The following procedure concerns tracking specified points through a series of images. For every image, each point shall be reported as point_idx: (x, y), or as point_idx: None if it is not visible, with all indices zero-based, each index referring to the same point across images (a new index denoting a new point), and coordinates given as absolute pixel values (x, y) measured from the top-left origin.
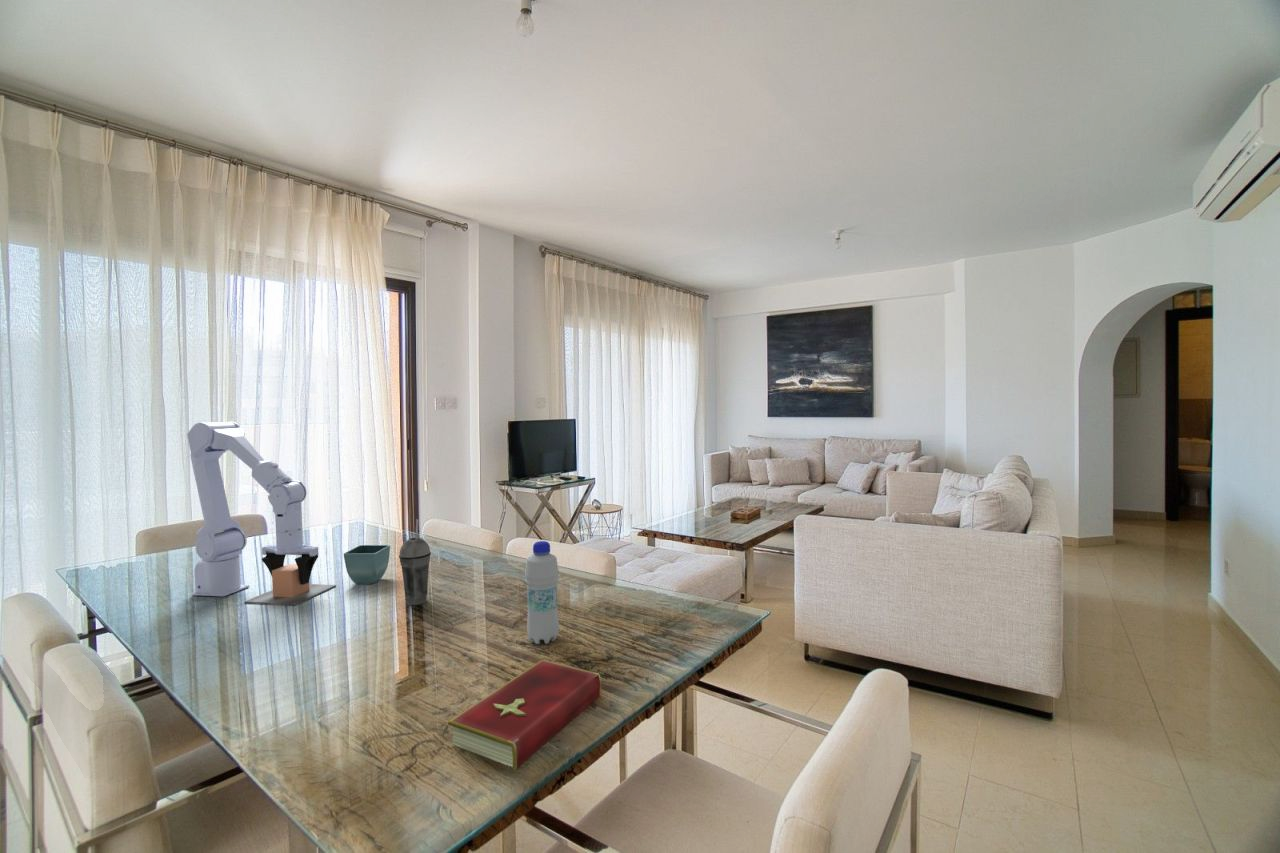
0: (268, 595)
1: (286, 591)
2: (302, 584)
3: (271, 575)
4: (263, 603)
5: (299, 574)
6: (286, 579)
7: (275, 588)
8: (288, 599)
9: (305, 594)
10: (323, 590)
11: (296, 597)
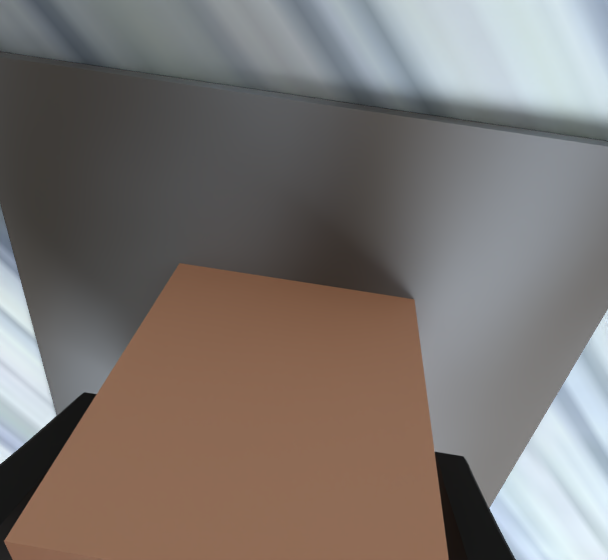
0: (483, 330)
1: (238, 311)
2: (86, 393)
3: (509, 554)
4: (408, 114)
5: (14, 499)
6: (183, 423)
7: (380, 353)
8: (174, 207)
9: (125, 327)
10: (60, 398)
11: (142, 260)
